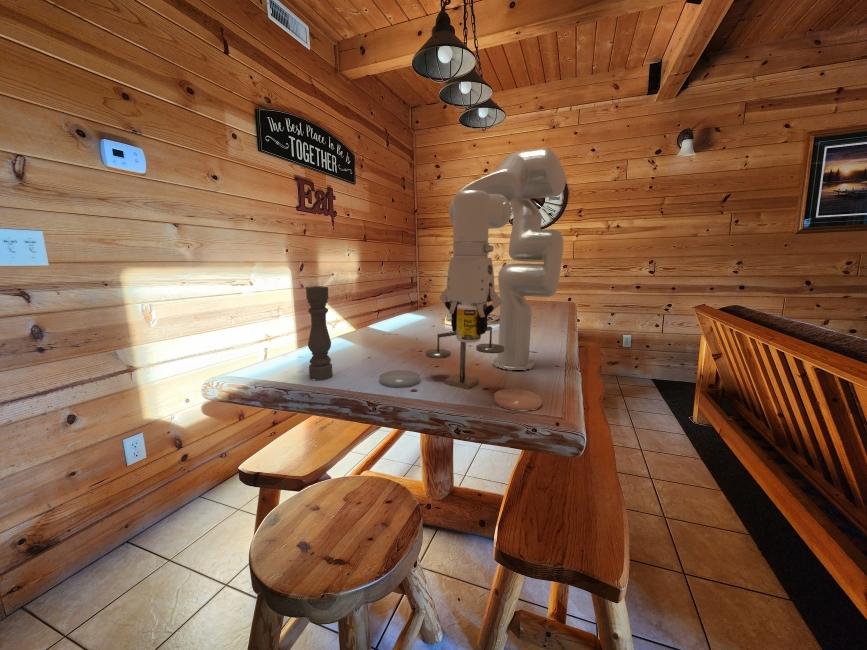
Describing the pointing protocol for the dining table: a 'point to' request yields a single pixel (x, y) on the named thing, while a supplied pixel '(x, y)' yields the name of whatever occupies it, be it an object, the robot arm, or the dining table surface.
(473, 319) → the supplement bottle
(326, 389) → the dining table surface
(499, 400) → the terracotta dish
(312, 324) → the candle holder
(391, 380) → the slate dish
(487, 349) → the balance
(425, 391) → the dining table surface
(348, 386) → the dining table surface
